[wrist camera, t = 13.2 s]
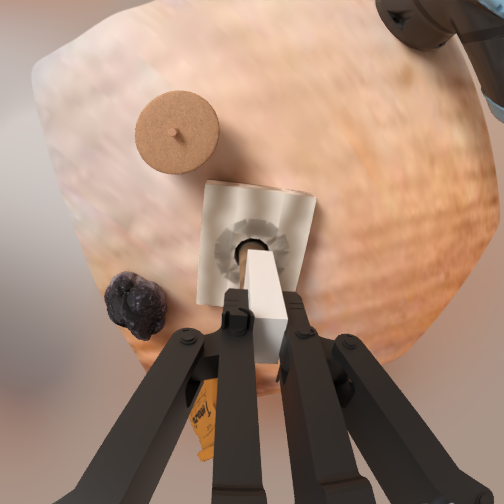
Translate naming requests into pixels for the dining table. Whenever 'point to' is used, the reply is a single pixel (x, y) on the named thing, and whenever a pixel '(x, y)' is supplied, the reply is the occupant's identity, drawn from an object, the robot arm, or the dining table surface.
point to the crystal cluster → (136, 304)
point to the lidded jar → (177, 132)
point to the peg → (243, 250)
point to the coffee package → (205, 418)
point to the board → (250, 233)
